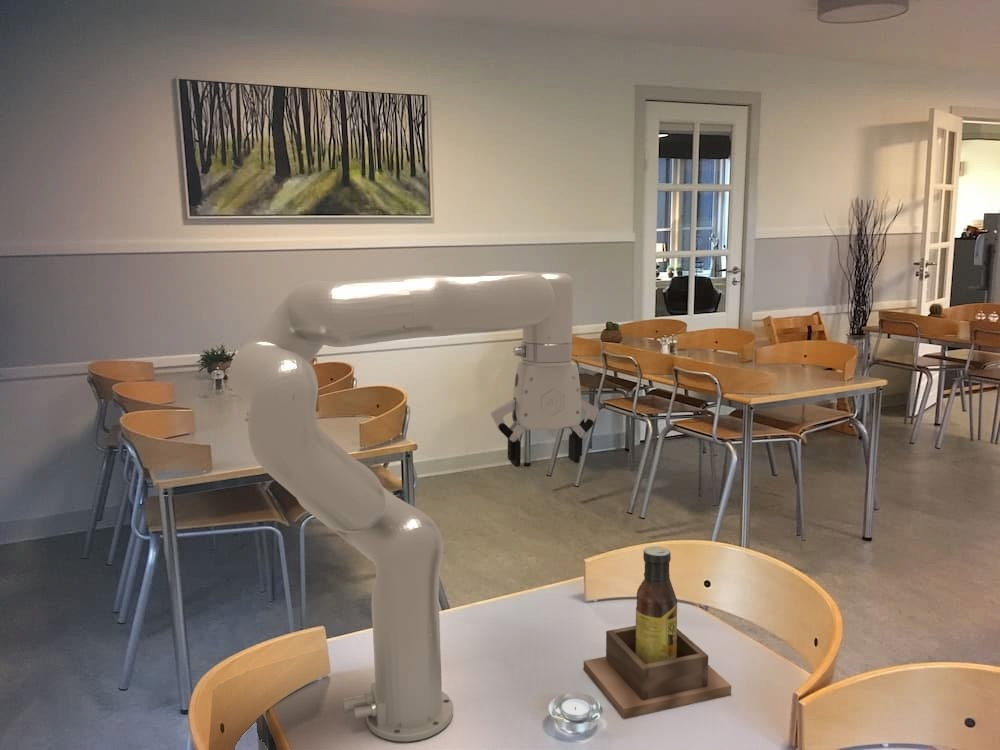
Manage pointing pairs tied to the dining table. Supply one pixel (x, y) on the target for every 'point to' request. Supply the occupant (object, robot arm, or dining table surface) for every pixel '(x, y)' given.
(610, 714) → the dining table surface
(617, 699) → the condiment caddy
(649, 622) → the sauce bottle
